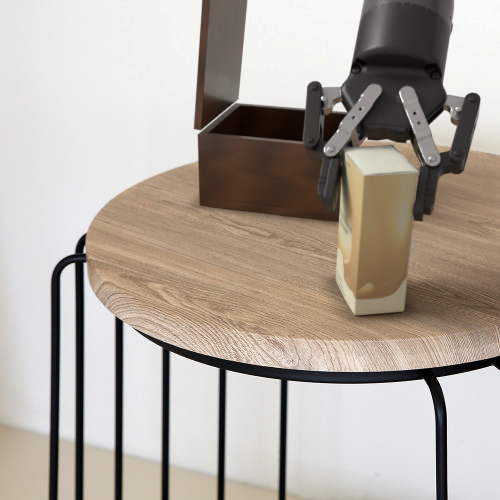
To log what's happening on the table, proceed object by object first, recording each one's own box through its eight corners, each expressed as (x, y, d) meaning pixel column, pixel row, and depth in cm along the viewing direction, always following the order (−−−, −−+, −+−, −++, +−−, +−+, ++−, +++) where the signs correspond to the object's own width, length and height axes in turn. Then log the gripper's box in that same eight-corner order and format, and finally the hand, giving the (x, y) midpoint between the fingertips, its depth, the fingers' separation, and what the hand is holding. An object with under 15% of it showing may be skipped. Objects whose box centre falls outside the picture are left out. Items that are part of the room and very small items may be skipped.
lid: (251, -43, 84) (206, -49, 85) (212, -29, 73) (161, -37, 75) (238, 99, 91) (197, 92, 92) (200, 130, 80) (155, 121, 82)
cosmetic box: (333, 281, 69) (339, 145, 63) (382, 277, 69) (392, 142, 64) (354, 319, 63) (362, 173, 58) (407, 314, 64) (420, 169, 58)
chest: (357, 179, 91) (361, 113, 88) (335, 221, 80) (339, 147, 77) (235, 166, 95) (235, 102, 92) (199, 205, 84) (197, 134, 81)
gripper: (313, -5, 65) (273, 182, 59) (498, 3, 61) (472, 203, 56) (324, 48, 71) (289, 220, 66) (491, 58, 68) (467, 241, 63)
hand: (373, 211), depth 61 cm, fingers closed on cosmetic box, 6 cm apart
